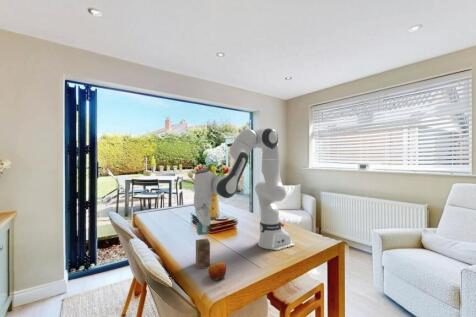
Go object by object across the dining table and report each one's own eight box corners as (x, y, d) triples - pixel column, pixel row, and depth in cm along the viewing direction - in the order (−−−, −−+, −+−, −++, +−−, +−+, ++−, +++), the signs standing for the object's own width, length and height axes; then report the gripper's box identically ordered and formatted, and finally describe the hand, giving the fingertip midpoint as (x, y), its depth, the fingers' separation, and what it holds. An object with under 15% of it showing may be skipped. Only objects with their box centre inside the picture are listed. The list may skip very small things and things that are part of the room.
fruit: (216, 282, 96) (211, 263, 100) (208, 285, 102) (204, 266, 105) (232, 277, 101) (227, 258, 104) (224, 279, 107) (219, 261, 110)
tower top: (207, 250, 119) (207, 238, 119) (209, 254, 114) (209, 242, 113) (195, 251, 117) (195, 239, 117) (197, 256, 112) (197, 244, 111)
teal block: (206, 230, 118) (206, 221, 118) (208, 234, 114) (208, 224, 114) (196, 231, 117) (196, 222, 117) (198, 235, 112) (198, 224, 112)
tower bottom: (207, 261, 119) (207, 250, 119) (209, 266, 114) (209, 254, 114) (195, 263, 117) (195, 251, 117) (197, 268, 112) (197, 256, 112)
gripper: (213, 206, 106) (213, 235, 106) (204, 198, 126) (204, 223, 126) (200, 207, 104) (200, 237, 104) (193, 199, 123) (193, 224, 124)
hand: (202, 229), depth 115 cm, fingers closed on teal block, 5 cm apart
